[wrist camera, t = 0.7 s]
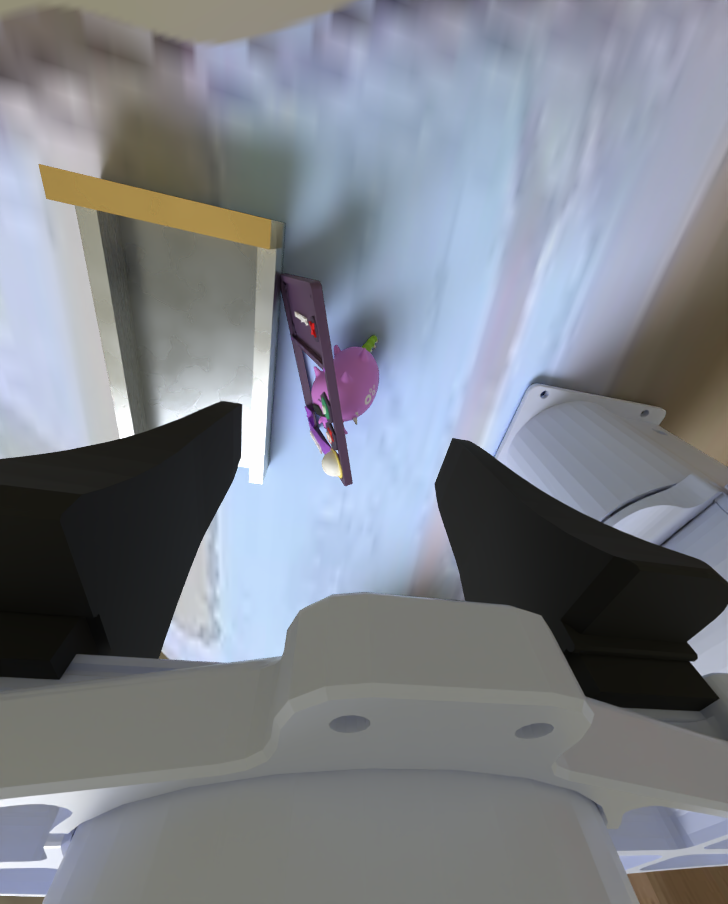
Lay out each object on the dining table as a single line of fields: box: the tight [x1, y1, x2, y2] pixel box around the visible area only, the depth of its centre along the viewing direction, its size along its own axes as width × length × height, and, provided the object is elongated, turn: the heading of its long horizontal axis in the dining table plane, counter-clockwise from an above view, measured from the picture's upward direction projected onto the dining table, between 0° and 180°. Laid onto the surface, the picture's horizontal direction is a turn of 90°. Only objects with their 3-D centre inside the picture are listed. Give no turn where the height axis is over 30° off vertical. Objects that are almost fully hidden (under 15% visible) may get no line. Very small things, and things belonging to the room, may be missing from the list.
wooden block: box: [627, 866, 728, 904], centre depth 28 cm, size 10×10×20 cm
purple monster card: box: [280, 273, 379, 486], centre depth 17 cm, size 7×5×9 cm
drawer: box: [39, 164, 285, 484], centre depth 18 cm, size 8×14×4 cm, turn 168°
